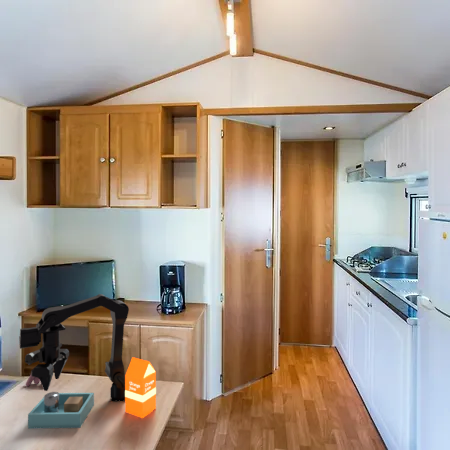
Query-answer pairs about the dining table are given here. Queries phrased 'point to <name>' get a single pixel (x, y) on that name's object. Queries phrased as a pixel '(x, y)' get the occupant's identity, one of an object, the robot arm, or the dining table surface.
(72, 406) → the walnut cube
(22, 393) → the dining table surface
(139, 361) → the orange juice
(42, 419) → the tote
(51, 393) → the steel cylinder
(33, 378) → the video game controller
